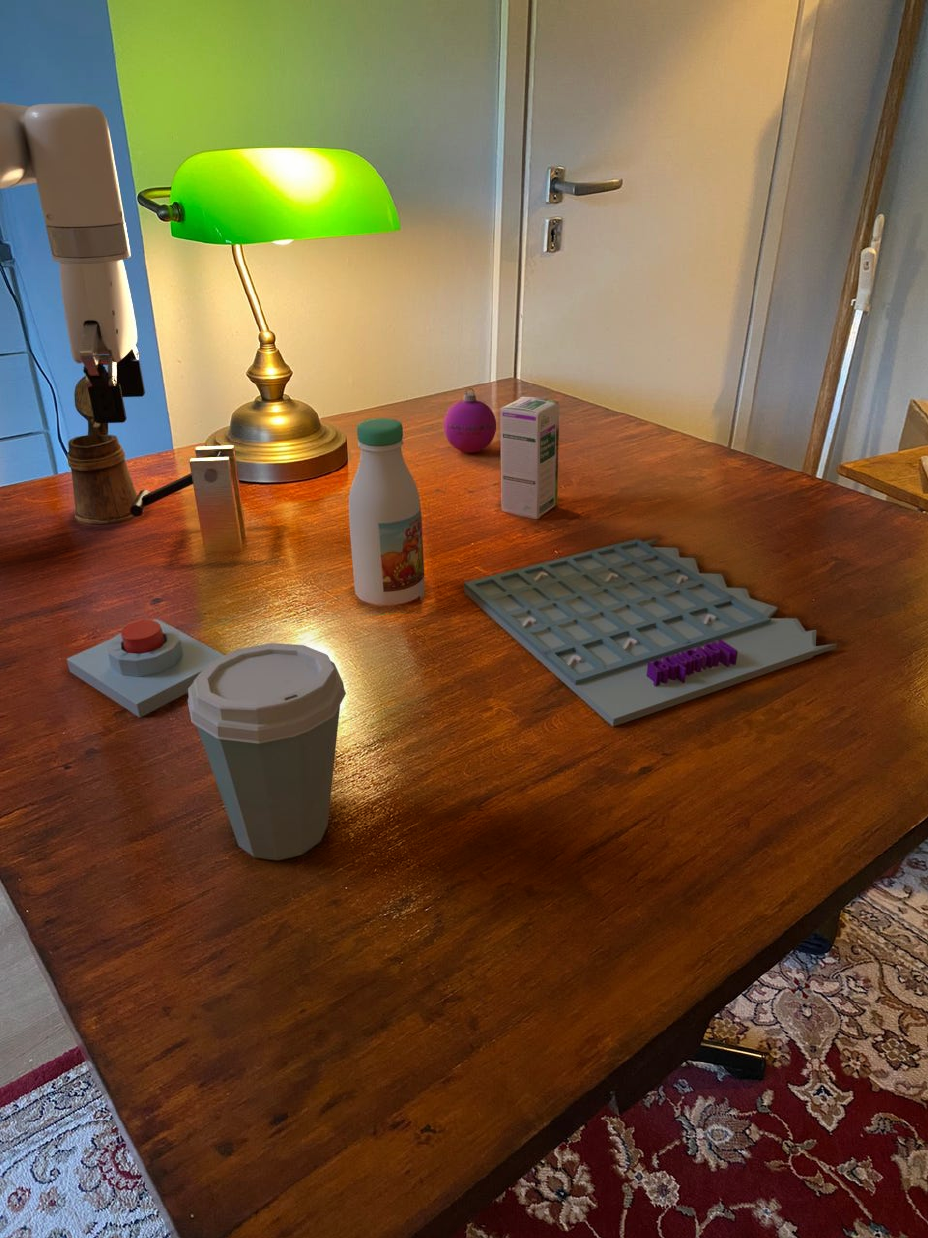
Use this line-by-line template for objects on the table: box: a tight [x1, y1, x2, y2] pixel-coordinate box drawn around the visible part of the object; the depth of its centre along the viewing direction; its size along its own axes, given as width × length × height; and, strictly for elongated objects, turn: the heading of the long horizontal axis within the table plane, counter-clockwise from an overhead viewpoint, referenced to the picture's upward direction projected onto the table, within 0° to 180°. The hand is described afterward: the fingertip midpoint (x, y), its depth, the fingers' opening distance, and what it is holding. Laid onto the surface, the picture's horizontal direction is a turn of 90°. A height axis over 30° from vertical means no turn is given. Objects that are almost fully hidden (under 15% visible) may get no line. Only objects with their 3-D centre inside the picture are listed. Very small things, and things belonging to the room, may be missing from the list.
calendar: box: [463, 537, 838, 727], centre depth 96 cm, size 27×29×2 cm
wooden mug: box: [66, 375, 138, 526], centre depth 119 cm, size 9×14×18 cm, turn 6°
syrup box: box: [499, 395, 560, 520], centre depth 119 cm, size 6×6×14 cm
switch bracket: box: [188, 445, 247, 554], centre depth 109 cm, size 12×10×13 cm
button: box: [120, 619, 164, 654], centre depth 86 cm, size 4×4×2 cm
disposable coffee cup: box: [187, 642, 347, 861], centre depth 65 cm, size 11×11×15 cm
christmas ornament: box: [443, 387, 497, 454], centre depth 141 cm, size 8×8×10 cm
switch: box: [130, 451, 224, 518], centre depth 107 cm, size 12×5×2 cm, turn 95°
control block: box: [66, 618, 225, 718], centre depth 87 cm, size 12×10×4 cm
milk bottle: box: [348, 417, 425, 606], centre depth 96 cm, size 8×8×20 cm
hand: (121, 408), depth 101 cm, fingers open, 9 cm apart
